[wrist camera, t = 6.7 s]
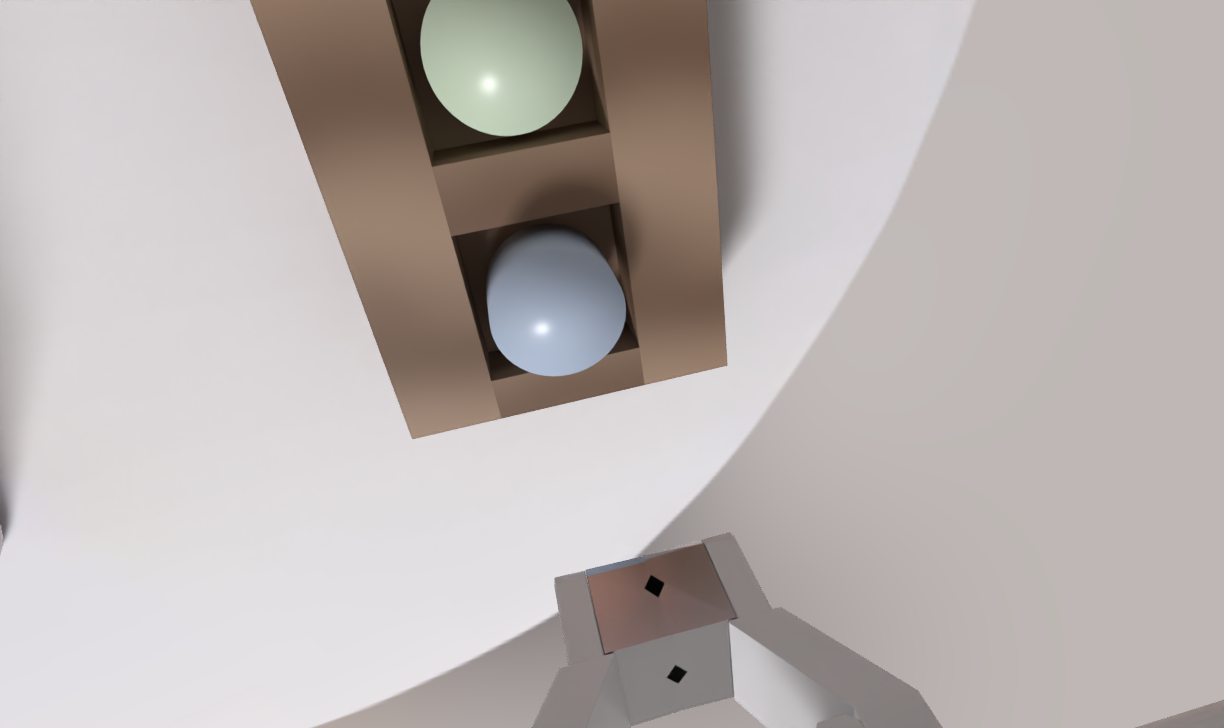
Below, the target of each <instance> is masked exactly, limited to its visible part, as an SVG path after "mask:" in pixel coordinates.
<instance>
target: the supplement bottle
mask: <svg viewBox="0 0 1224 728" xmlns="http://www.w3.org/2000/svg"><path fill="white" fill-rule="evenodd" d="M2 546H3V533H2V529H1V525H0V554H1V551H2Z"/></svg>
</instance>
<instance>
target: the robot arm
mask: <svg viewBox="0 0 1224 728" xmlns="http://www.w3.org/2000/svg"><path fill="white" fill-rule="evenodd" d="M585 571H586V574H585ZM585 571H581V572H577V573H573V574H568V575H564V576H560V577H556V578H555V592H556V598H557V604H558V610H559V615H560V621H561V627H562V633H563V639H564V644H565V650H566V657H567V663H568V665H567V666H564V667H561V668H559V669H558V671H557V673H556V675H555V678H554V680H553V682H552V684H551V686H550V689H549V691H548V693H547V695H546V697H545V699H544V702H543V704H542V706H541V708H540V711H539V713H538V715H537V717H536V719H535V721H534V724H533V726H532V728H631V726H634V725H636V724H640V723H643V722H646V721H650V720H653V719H656V718H659V717H662V716H665V715H668V714H671V713H675V712H678V711H680V710H685V709H688V708H692V707H696V706H700V705H704V704H707V703H711V702H716V701H719V700H723V699H727V698H731V697H734V699H735V700H736V701H737V702H738V703H739V704H740V705H741V706H743V707H744V708H745V709H746V710H747V711H748V712H749V713H751V714H752V715H753V716H754V717H755V718H756V719H757V720H758V721H760V722H761V723H762V724H763V725H764V726H765V727H767V728H942V726H941V725H940V723H939V722H938V720H937V719H936V717H935V716H934V714H933V713H932V711H931V709H930V708H929V706H928V705H927V703H926V702H925V700H924V699H923V697H922V696H921V694H920V693H919V691H918V690H916V689H914V688H913V687H911V686H910V685H908V684H906V683H905V682H903V681H902V680H900V679H898V678H897V677H895V676H893V675H892V674H890V673H888V672H887V671H885V670H883V669H882V668H880V667H879V666H877V665H875V664H874V663H872V662H870V661H869V660H867V659H865V658H864V657H862V656H860V655H859V654H857V653H856V652H854V651H852V650H851V649H849V648H847V647H846V646H844V645H842V644H841V643H839V642H838V641H836V640H834V639H833V638H831V637H829V636H828V635H826V634H824V633H823V632H821V631H819V630H818V629H816V628H815V627H813V626H811V625H810V624H808V623H806V622H805V621H803V620H801V619H800V618H798V617H797V616H795V615H793V614H792V613H790V612H788V611H786V610H785V609H783V608H782V607H779V608H774V609H772V608H771V606H770V604H769V603H768V600H767V599H766V597H765V595H764V593H763V591H762V589H761V587H760V585H759V583H758V581H757V579H756V577H755V575H754V573H753V571H752V570H751V568H750V566H749V564H748V562H747V560H746V558H745V556H744V554H743V552H742V550H741V548H740V546H739V544H738V543H737V541H736V539H735V537H734V536H733V535H732V534H731V533H726V534H722V535H718V536H714V537H711V538H707V539H704V540H701V541H695V542H691V543H687V544H684V545H680V546H677V547H673V548H669V549H666V550H662V551H659V552H655V553H651V554H647V555H644V556H643V557H639V558H634V559H630V560H626V561H622V562H617V563H613V564H609V565H605V566H600V567H596V568H592V569H587V570H585ZM586 575H587V578H586ZM587 580H588V582H587ZM588 585H589V586H588ZM589 589H590V591H589ZM590 594H591V595H590ZM591 598H592V599H591ZM592 602H593V603H592ZM1136 728H1224V700H1222V701H1219V702H1216V703H1212V704H1209V705H1206V706H1203V707H1200V708H1196V709H1193V710H1190V711H1187V712H1184V713H1180V714H1177V715H1174V716H1171V717H1168V718H1165V719H1161V720H1158V721H1155V722H1152V723H1149V724H1146V725H1143V726H1140V727H1136Z"/></svg>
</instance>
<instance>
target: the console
mask: <svg viewBox="0 0 1224 728" xmlns="http://www.w3.org/2000/svg"><path fill="white" fill-rule="evenodd" d="M430 1H431V0H250V2H251V4H252V7H253V10H254V13H255V15H256V18H257V21H258V23H259V26H260V29H261V31H262V34H263V37H264V40H265V42H266V45H267V48H268V50H269V53H270V56H271V59H272V61H273V64H274V67H275V69H276V72H277V75H278V77H279V80H280V83H281V86H282V88H283V91H284V94H285V96H286V99H287V102H288V104H289V107H290V110H291V113H292V115H293V118H294V121H295V123H296V126H297V129H298V131H299V134H300V137H301V140H302V142H303V145H304V148H305V150H306V153H307V156H308V159H309V161H310V164H311V167H312V169H313V172H314V175H315V177H316V180H317V183H318V186H319V188H320V191H321V194H322V196H323V199H324V202H325V204H326V207H327V210H328V213H329V215H330V218H331V221H332V223H333V226H334V229H335V232H336V234H337V237H338V240H339V242H340V245H341V248H342V250H343V253H344V256H345V259H346V261H347V264H348V267H349V269H350V272H351V275H352V277H353V280H354V283H355V286H356V288H357V291H358V294H359V296H360V299H361V302H362V304H363V307H364V310H365V313H366V315H367V318H368V321H369V323H370V326H371V329H372V332H373V334H374V337H375V340H376V342H377V345H378V348H379V350H380V353H381V356H382V359H383V361H384V364H385V367H386V369H387V372H388V375H389V377H390V380H391V383H392V386H393V388H394V391H395V394H396V396H397V399H398V402H399V404H400V407H401V410H402V413H403V415H404V418H405V421H406V423H407V426H408V429H409V432H410V434H411V437H412V439H416V438H420V437H424V436H428V435H433V434H437V433H441V432H445V431H450V430H454V429H458V428H463V427H467V426H471V425H475V424H480V423H484V422H488V421H492V420H497V419H501V418H505V417H510V416H514V415H518V414H522V413H527V412H531V411H535V410H539V409H544V408H548V407H552V406H557V405H561V404H565V403H569V402H574V401H578V400H582V399H586V398H591V397H595V396H599V395H604V394H608V393H612V392H616V391H621V390H625V389H629V388H633V387H638V386H642V385H646V384H651V383H655V382H659V381H663V380H668V379H672V378H676V377H680V376H685V375H689V374H693V373H698V372H702V371H706V370H710V369H715V368H719V367H723V366H727V350H726V333H725V315H724V298H723V281H722V263H721V246H720V229H719V211H718V194H717V177H716V159H715V142H714V125H713V107H712V90H711V73H710V55H709V38H708V21H707V3H706V0H567V1H568V3H569V5H570V6H571V8H572V10H573V13H574V15H575V17H576V20H577V23H578V26H579V29H580V34H581V39H582V50H583V54H582V67H581V73H580V77H579V80H578V84H577V86H576V89H575V91H574V93H573V95H572V97H571V99H570V100H569V102H568V103H567V105H566V106H565V107H564V109H563V110H562V111H561V112H560V113H559V114H558V115H557V116H556V117H555V118H554V119H553V120H551V121H550V122H549V123H548V124H546V125H544V126H542V127H541V128H539V129H537V130H534V131H532V132H529V133H525V134H521V135H515V136H498V135H492V134H487V133H484V132H481V131H478V130H476V129H474V128H471V127H469V126H468V125H466V124H464V123H463V122H461V121H460V120H459V119H457V118H456V117H455V116H453V115H452V114H451V113H450V112H449V111H448V110H447V109H446V108H445V107H444V105H443V104H442V103H441V102H440V100H439V99H438V98H437V96H436V94H435V93H434V91H433V89H432V87H431V85H430V83H429V81H428V79H427V76H426V73H425V70H424V67H423V62H422V57H421V46H420V41H421V29H422V23H423V19H424V15H425V12H426V9H427V7H428V5H429V3H430ZM551 223H553V224H562V225H566V226H569V227H572V228H574V229H577V230H579V231H581V232H582V233H584V234H585V235H587V236H588V237H589V238H591V239H592V240H593V241H594V242H595V243H596V245H597V246H598V247H599V249H600V250H601V252H602V254H603V255H604V257H605V259H606V261H607V263H608V264H609V266H610V268H611V270H612V272H613V273H614V275H615V277H616V279H617V281H618V283H619V284H620V286H621V288H622V291H623V294H624V298H625V303H626V317H625V323H624V327H623V330H622V333H621V335H620V337H619V339H618V341H617V342H616V344H615V345H614V347H613V348H612V349H611V350H610V352H609V353H608V354H607V355H606V356H605V357H604V358H602V359H601V360H600V361H599V362H597V363H596V364H594V365H593V366H591V367H589V368H587V369H585V370H582V371H580V372H577V373H574V374H570V375H564V376H543V375H538V374H534V373H531V372H528V371H526V370H523V369H521V368H519V367H518V366H516V365H514V364H513V363H512V362H511V361H509V360H508V359H507V358H506V357H505V356H504V355H503V354H502V352H501V351H500V350H499V348H498V347H497V345H496V343H495V341H494V339H493V336H492V333H491V329H490V323H489V314H488V306H487V297H486V286H485V280H486V273H487V269H488V265H489V263H490V260H491V258H492V256H493V255H494V253H495V251H496V250H497V249H498V247H499V246H500V245H501V244H502V243H503V242H504V241H505V240H506V239H507V238H509V237H510V236H511V235H513V234H514V233H516V232H518V231H520V230H522V229H524V228H527V227H530V226H533V225H538V224H551Z"/></svg>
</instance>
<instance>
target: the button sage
mask: <svg viewBox="0 0 1224 728" xmlns="http://www.w3.org/2000/svg"><path fill="white" fill-rule="evenodd" d="M420 46H421V57H422V62H423V67H424V70H425V73H426V76H427V79H428V81H429V83H430V85H431V87H432V89H433V91H434V93H435V94H436V96H437V98H438V99H439V100H440V102H441V103H442V104H443V105H444V107H445V108H446V109H447V110H448V111H449V112H450V113H451V114H452V115H453V116H455V117H456V118H457V119H459V120H460V121H461V122H463V123H464V124H466V125H468V126H469V127H471V128H474V129H476V130H478V131H481V132H484V133H487V134H492V135H498V136H515V135H521V134H525V133H529V132H532V131H534V130H537V129H539V128H541V127H542V126H544V125H546V124H548V123H549V122H550V121H551V120H553V119H554V118H555V117H556V116H557V115H558V114H559V113H560V112H561V111H562V110H563V109H564V107H565V106H566V105H567V103H568V102H569V100H570V99H571V97H572V95H573V93H574V91H575V89H576V86H577V84H578V80H579V77H580V73H581V67H582V54H583V50H582V39H581V34H580V29H579V26H578V23H577V20H576V17H575V15H574V13H573V10H572V8H571V6H570V5H569V3H568V1H567V0H431V1H430V3H429V5H428V7H427V9H426V12H425V15H424V19H423V23H422V29H421V41H420Z"/></svg>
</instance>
